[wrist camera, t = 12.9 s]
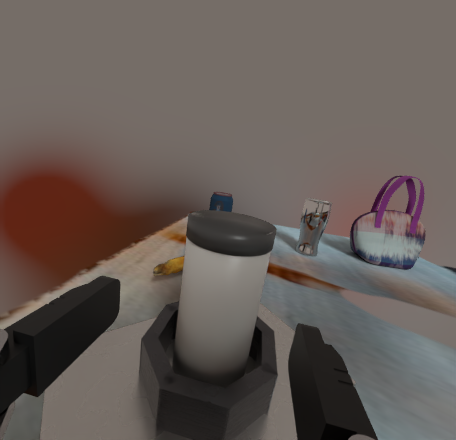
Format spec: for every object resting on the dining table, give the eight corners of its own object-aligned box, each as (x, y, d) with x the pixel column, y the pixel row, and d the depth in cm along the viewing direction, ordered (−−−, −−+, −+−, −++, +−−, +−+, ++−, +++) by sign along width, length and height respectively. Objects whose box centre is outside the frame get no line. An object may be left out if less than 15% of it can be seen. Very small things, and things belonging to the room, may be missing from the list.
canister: (218, 330, 20) (239, 210, 18) (259, 382, 16) (295, 232, 13) (160, 354, 17) (174, 209, 14) (191, 427, 13) (220, 239, 10)
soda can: (223, 227, 72) (229, 192, 69) (231, 234, 65) (237, 196, 63) (204, 227, 69) (208, 190, 66) (210, 234, 63) (216, 194, 60)
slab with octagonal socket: (240, 316, 29) (249, 270, 27) (342, 418, 18) (367, 352, 16) (51, 389, 17) (47, 315, 15) (19, 819, 6) (-6, 719, 5)
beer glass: (289, 246, 62) (300, 196, 59) (309, 248, 64) (322, 199, 60) (301, 256, 56) (315, 201, 52) (323, 257, 57) (338, 204, 54)
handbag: (401, 259, 67) (430, 181, 62) (429, 274, 58) (466, 183, 52) (335, 248, 67) (358, 170, 62) (352, 262, 58) (381, 169, 52)
